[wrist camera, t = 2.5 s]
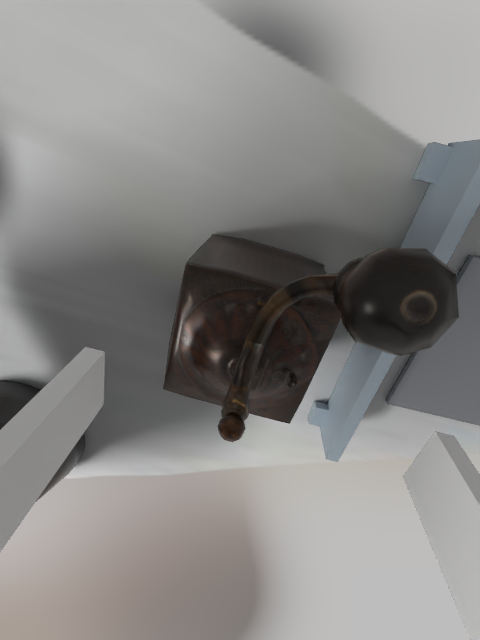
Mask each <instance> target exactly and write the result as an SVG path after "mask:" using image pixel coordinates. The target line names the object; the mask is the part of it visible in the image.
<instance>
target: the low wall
mask: <svg viewBox="0 0 480 640" xmlns="http://www.w3.org/2000/svg"><path fill="white" fill-rule="evenodd" d="M413 179H416V180H420V181H424V182H428V183H430V185H429V187H428V189H427V191H426V193H425V196H424V198H423V200H422V202H421V204H420V206H419V208H418V210H417V213H416V215H415V217H414V219H413V221H412V223H411V225H410V228H409V230H408V232H407V234H406V236H405V238H404V240H403V243H402V245H401V247H400V248H423V249H427V250H429V251H430V252H431V253H432V254H433V255H435V256H436V257H437V258H438V259H440V260H441V261H442V262H443V263H445V264H446V265H447V263H448V261H449V259H450V257H451V255H452V254H453V252H454V250H455V248H456V246H457V245H458V243H459V241H460V239H461V237H462V236H463V234H464V232H465V230H466V228H467V226H468V225H469V223H470V221H471V219H472V217H473V216H474V214H475V212H476V210H477V208H478V207H479V205H480V140H473V141H464V142H456V143H449V144H448V146H447V145H443V144H440V143H436V142H433V143H428V145H427V147H426V149H425V152H424V154H423V156H422V158H421V161H420V163H419V165H418V167H417V170H416V172H415V174H414V177H413ZM395 357H396V355H393V354H388V353H385V352H382V351H380V350H377V349H374V348H371V347H368V346H365V345H363V344H360V343H357V342H356V343H355V345H354V348H353V350H352V352H351V354H350V356H349V358H348V360H347V362H346V365H345V367H344V369H343V371H342V373H341V375H340V377H339V380H338V382H337V384H336V386H335V388H334V390H333V392H332V395H331V397H330V399H329V401H328V403H327V404H325V403H321V402H317V401H315V402H314V404H313V406H312V408H311V411H310V413H309V415H308V422H309V424H313V425H317V426H320V430H321V435H322V441H323V446H324V451H325V456H326V459H328V460H332V461H336V462H338V461H339V459H340V457H341V455H342V453H343V451H344V450H345V448H346V446H347V444H348V442H349V441H350V439H351V437H352V435H353V433H354V431H355V430H356V428H357V426H358V424H359V422H360V421H361V419H362V417H363V415H364V413H365V412H366V410H367V408H368V406H369V404H370V402H371V401H372V399H373V397H374V395H375V393H376V392H377V390H378V388H379V386H380V384H381V383H382V381H383V379H384V377H385V375H386V373H387V372H388V370H389V368H390V366H391V364H392V363H393V361H394V359H395Z"/></svg>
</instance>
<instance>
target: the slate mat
mask: <svg viewBox="0 0 480 640" xmlns="http://www.w3.org/2000/svg"><path fill="white" fill-rule="evenodd" d="M456 285H457V297H458V309H459V318H458V319H457V320H456V321H455V322H454V323H453V324H452V326H451V327H450V328H449V329H448V330H447V331H446V332H445V333H444V334H443V335H442V336H441V337H440V338H439V340H438V341H437V342H436V343H435V344H434V345H433V346H432V347H431V348H428V349H424V350H420V351H416V352H413V353H412V355H411V357H410V359H409V360H408V362H407V364H406V365H405V367H404V369H403V371H402V372H401V374H400V376H399V378H398V379H397V381H396V383H395V385H394V386H393V388H392V390H391V391H390V393H389V395H388V397H387V398H386V402H387V404H391V405H395V406H399V407H404V408H408V409H412V410H416V411H421V412H425V413H429V414H433V415H438V416H442V417H446V418H450V419H455V420H459V421H463V422H467V423H472V424H476V425H480V258H479V257H475V256H471V255H469V257H468V258H467V260H466V262H465V263H464V265H463V267H462V269H461V270H460V272H459V274H458V276H457V277H456Z"/></svg>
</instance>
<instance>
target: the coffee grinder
mask: <svg viewBox="0 0 480 640" xmlns="http://www.w3.org/2000/svg"><path fill="white" fill-rule="evenodd" d="M341 316H342V322H343V324H344V326H345V328H346V329H347V331H348V332H349V333H350V335H351V336H352V338H353V339H354V340H355V342H357V343H360V344H363V345H365V346H368V347H371V348H374V349H377V350H380V351H382V352H385V353H388V354H393V355H399V356H401V355H405V354H409V353H412V352H416V351H420V350H424V349H428V348H431V347H432V346H433V345H434V344H435V343H436V342H437V341H438V340H439V338H440V337H441V336H442V335H443V334H444V333H445V332H446V331H447V330H448V329H449V328H450V327H451V326H452V324H453V323H454V322H455V321H456V320H457V319H458V318H459V309H458V297H457V285H456V274H455V273H454V271H453V270H452V269H451V268H449V267H448V266H447V265H446V264H445V263H443V262H442V261H441V260H440V259H438V258H437V257H436V256H435V255H433V254H432V253H431V252H430V251H429V250H427V249H423V248H382V249H379V250H377V251H375V252H373V253H371V254H369V255H367V256H365V257H364V258H359V259H356V260H354V261H351V262H349V263H348V264H347V265H346V266H345V267H344V268H343V269H342V270H341V271H340V272H339V273H338V274H326V273H325V271H324V265H323V264H320V263H317V262H314V261H312V260H310V259H307V258H305V257H302V256H300V255H297V254H294V253H291V252H287V251H284V250H281V249H277V248H274V247H270V246H267V245H263V244H260V243H256V242H253V241H249V240H246V239H239V238H232V237H225V236H219V235H213V234H212V236H211V237H210V238H209V239H208V240H207V241H206V242H205V243H204V244H203V245H202V246H201V247H200V248H199V249H198V250H197V251H196V253H195V254H194V255H193V256H192V257H191V258H190V259H189V260H188V262H187V263H186V266H185V271H184V276H183V280H182V285H181V289H180V294H179V299H178V304H177V309H176V314H175V319H174V324H173V328H172V333H171V338H170V343H169V350H168V358H167V366H166V374H165V382H164V387H163V389H165V390H168V391H171V392H174V393H178V394H181V395H184V396H187V397H191V398H195V399H198V400H202V401H206V402H210V403H213V404H217V405H221V406H222V410H221V413H222V418H221V420H220V422H219V425H218V431H219V434H220V435H221V437H222V438H223V439H225V440H227V441H231V442H233V441H236V440H239V439H240V438H241V437H242V435H243V433H244V430H245V424H244V420H245V419H247V417H248V415H249V413H250V414H254V415H257V416H261V417H265V418H269V419H273V420H277V421H281V422H285V423H289V424H290V422H291V420H292V418H293V416H294V414H295V412H296V411H297V409H298V407H299V405H300V403H301V401H302V399H303V397H304V395H305V393H306V391H307V389H308V386H309V384H310V382H311V380H312V378H313V376H314V374H315V372H316V370H317V368H318V366H319V363H320V361H321V359H322V357H323V355H324V353H325V351H326V349H327V347H328V344H329V342H330V340H331V338H332V336H333V334H334V331H335V329H336V327H337V325H338V322H339V320H340V318H341Z"/></svg>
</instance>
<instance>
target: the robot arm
mask: <svg viewBox="0 0 480 640" xmlns="http://www.w3.org/2000/svg"><path fill="white" fill-rule="evenodd" d="M104 375H105V351H101V350H97V349H93V348H89V347H85V348H84V349H83V350H82V351H81V352H80V353H79V354H78V355H76V356H75V357H74V358H73V359H72V360H71V361H70V362H69V363H68V364H67V365H66V366H65V367H64V368H63V369H62V370H61V371H60V372H59V373H58V374H57V375H56V376H55V377H54V378H53V379H52V380H51V381H50V382H49V383H48V384H47V385H46V386H45V387H44V388H43V389H42V390H41V391H40V390H38V389H35V388H33V387H30V386H27V385H23V384H19V383H14V382H2V381H1V382H0V551H1V550H2V549H3V547H4V546H5V544H6V543H7V542H8V540H9V539H10V537H11V536H12V534H13V533H14V532H15V530H16V529H17V527H18V526H19V525H20V523H21V522H22V520H23V519H24V517H25V516H26V515H27V513H28V512H29V510H30V509H31V507H32V506H33V505H34V503H35V502H36V501H37V500H38V499H40V498H41V497H42V496H43V495H44V494H45V493H46V492H48V491H49V490H50V489H51V488H52V487H54V486H55V485H56V484H57V483H58V482H59V481H61V480H62V479H63V478H64V477H65V476H66V475H68V474H69V472H70V471H71V470H72V469H73V467H74V466H75V464H76V463H77V461H78V460H79V458H80V457H81V455H82V453H83V450H84V445H85V441H84V435H83V433H84V432H85V431H86V429H87V428H88V426H89V425H90V424H91V422H92V421H93V419H94V418H95V416H96V415H97V414H98V412H99V411H100V409H101V408H102V406H103V405H104ZM403 478H404V480H405V483H406V485H407V488H408V490H409V493H410V495H411V497H412V500H413V502H414V505H415V507H416V510H417V512H418V515H419V517H420V519H421V522H422V524H423V527H424V529H425V532H426V534H427V536H428V539H429V541H430V544H431V546H432V549H433V551H434V553H435V556H436V558H437V560H438V563H439V566H440V568H441V571H442V573H443V575H444V578H445V580H446V583H447V585H448V588H449V590H450V592H451V595H452V597H453V600H454V602H455V604H456V607H457V610H458V612H459V614H460V617H461V619H462V622H463V624H464V627H465V629H466V632H467V634H468V636H469V639H470V640H480V474H479V473H478V471H477V470H476V468H475V467H474V465H473V464H472V463H471V461H470V459H469V458H468V456H467V455H466V453H465V452H464V450H463V449H462V447H461V446H460V444H459V443H458V441H457V440H456V438H455V436H452V435H448V434H444V433H440V432H436V431H435V432H434V434H433V435H432V437H431V438H430V439H429V441H428V442H427V443H426V445H425V446H424V448H423V449H422V450H421V452H420V453H419V454H418V456H417V457H416V459H415V460H414V461H413V463H412V464H411V465H410V467H409V468H408V470H407V471H406V472H405V474H404V475H403Z"/></svg>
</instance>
